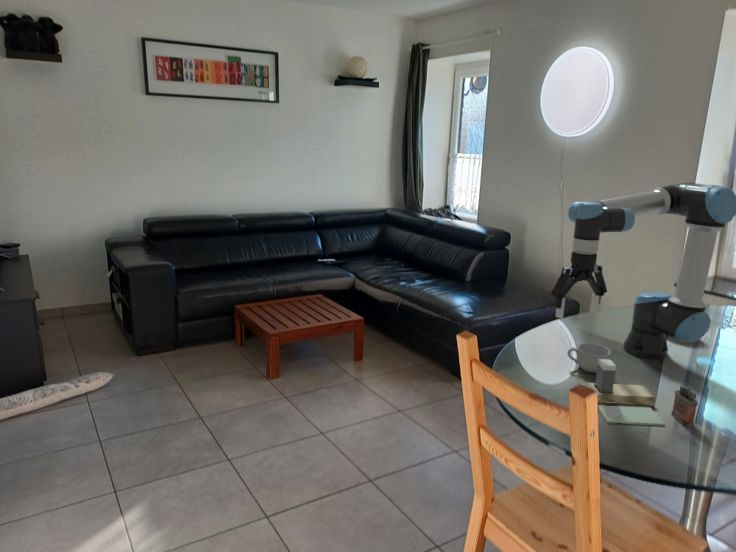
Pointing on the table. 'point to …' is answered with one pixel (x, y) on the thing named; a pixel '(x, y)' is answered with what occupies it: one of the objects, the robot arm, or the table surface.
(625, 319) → the table surface
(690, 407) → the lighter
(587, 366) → the teacup
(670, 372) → the table surface
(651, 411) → the mat
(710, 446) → the table surface
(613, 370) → the gray rectangular block
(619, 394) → the block
